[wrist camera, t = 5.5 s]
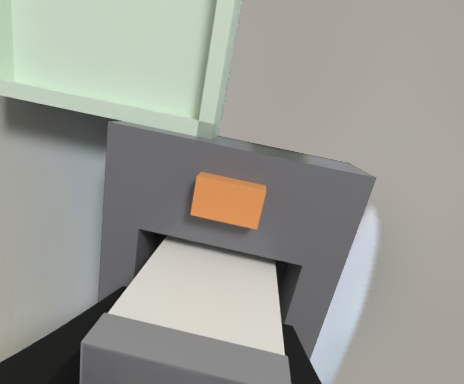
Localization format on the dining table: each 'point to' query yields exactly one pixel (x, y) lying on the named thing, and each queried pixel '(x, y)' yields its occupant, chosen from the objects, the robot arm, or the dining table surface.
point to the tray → (122, 58)
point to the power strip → (232, 211)
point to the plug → (191, 322)
